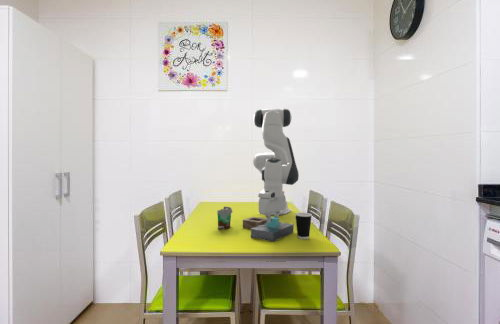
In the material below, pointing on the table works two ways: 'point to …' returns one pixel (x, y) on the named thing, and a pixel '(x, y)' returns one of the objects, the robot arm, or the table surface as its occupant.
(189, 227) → the table surface
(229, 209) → the food container
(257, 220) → the brown hollow square block
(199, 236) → the table surface
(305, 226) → the dixie cup
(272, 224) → the plug
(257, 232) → the port box
